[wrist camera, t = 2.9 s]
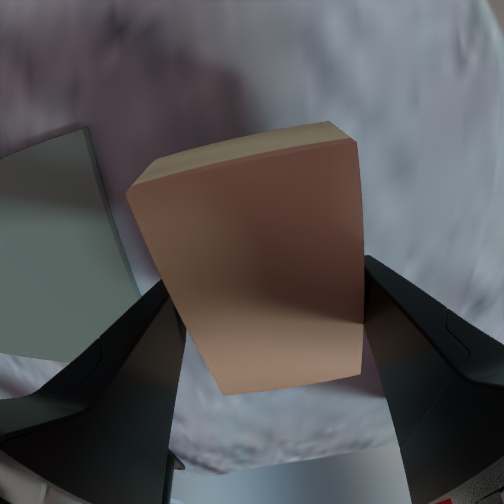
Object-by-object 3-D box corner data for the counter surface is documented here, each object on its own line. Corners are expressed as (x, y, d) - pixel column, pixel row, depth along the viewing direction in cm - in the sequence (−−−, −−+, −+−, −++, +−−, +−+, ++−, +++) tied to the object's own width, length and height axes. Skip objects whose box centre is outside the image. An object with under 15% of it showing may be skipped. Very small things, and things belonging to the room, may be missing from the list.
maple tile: (346, 324, 12) (360, 374, 10) (227, 344, 13) (223, 395, 11) (328, 121, 8) (357, 142, 6) (155, 159, 8) (125, 192, 6)
